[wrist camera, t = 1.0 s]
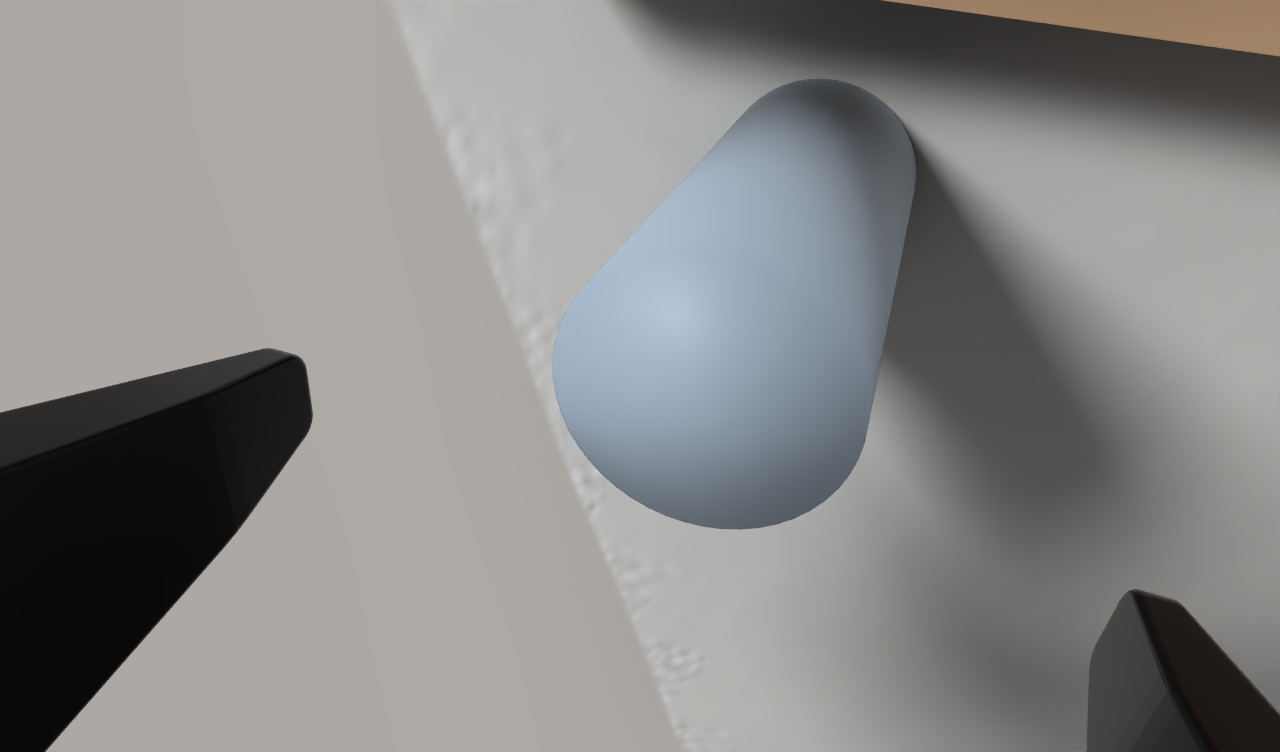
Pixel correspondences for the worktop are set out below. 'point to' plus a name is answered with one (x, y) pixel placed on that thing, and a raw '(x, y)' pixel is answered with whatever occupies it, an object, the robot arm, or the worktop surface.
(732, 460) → the peg
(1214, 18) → the socket board
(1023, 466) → the worktop surface
